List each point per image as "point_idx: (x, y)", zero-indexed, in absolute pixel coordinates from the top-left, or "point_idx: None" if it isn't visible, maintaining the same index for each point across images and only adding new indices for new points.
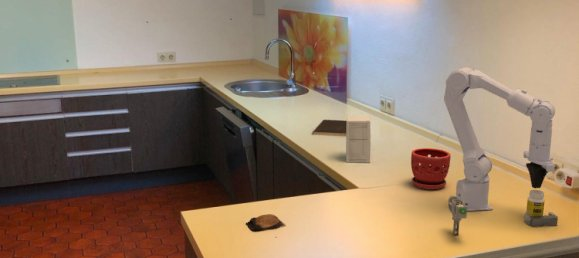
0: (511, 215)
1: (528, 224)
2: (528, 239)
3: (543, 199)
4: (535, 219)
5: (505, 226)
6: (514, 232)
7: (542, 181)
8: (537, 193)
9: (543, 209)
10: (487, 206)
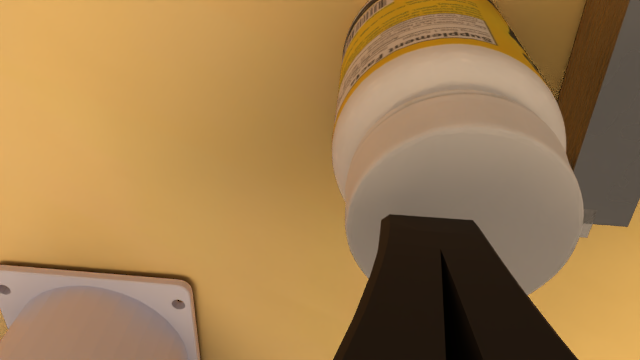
0: (315, 205)
1: None
2: None
3: (538, 104)
4: (634, 198)
5: None
6: (623, 330)
7: (541, 323)
8: (537, 262)
9: (512, 35)
10: (147, 303)
